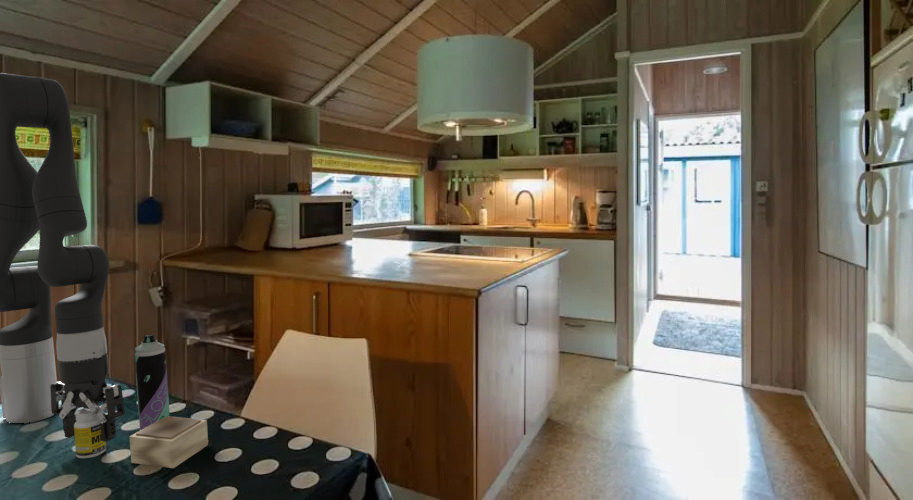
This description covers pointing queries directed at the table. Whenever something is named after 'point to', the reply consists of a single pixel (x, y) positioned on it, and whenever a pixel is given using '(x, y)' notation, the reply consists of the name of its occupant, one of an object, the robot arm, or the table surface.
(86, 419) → the supplement bottle
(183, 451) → the base block
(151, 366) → the spray can
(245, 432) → the table surface
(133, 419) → the table surface
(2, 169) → the robot arm
